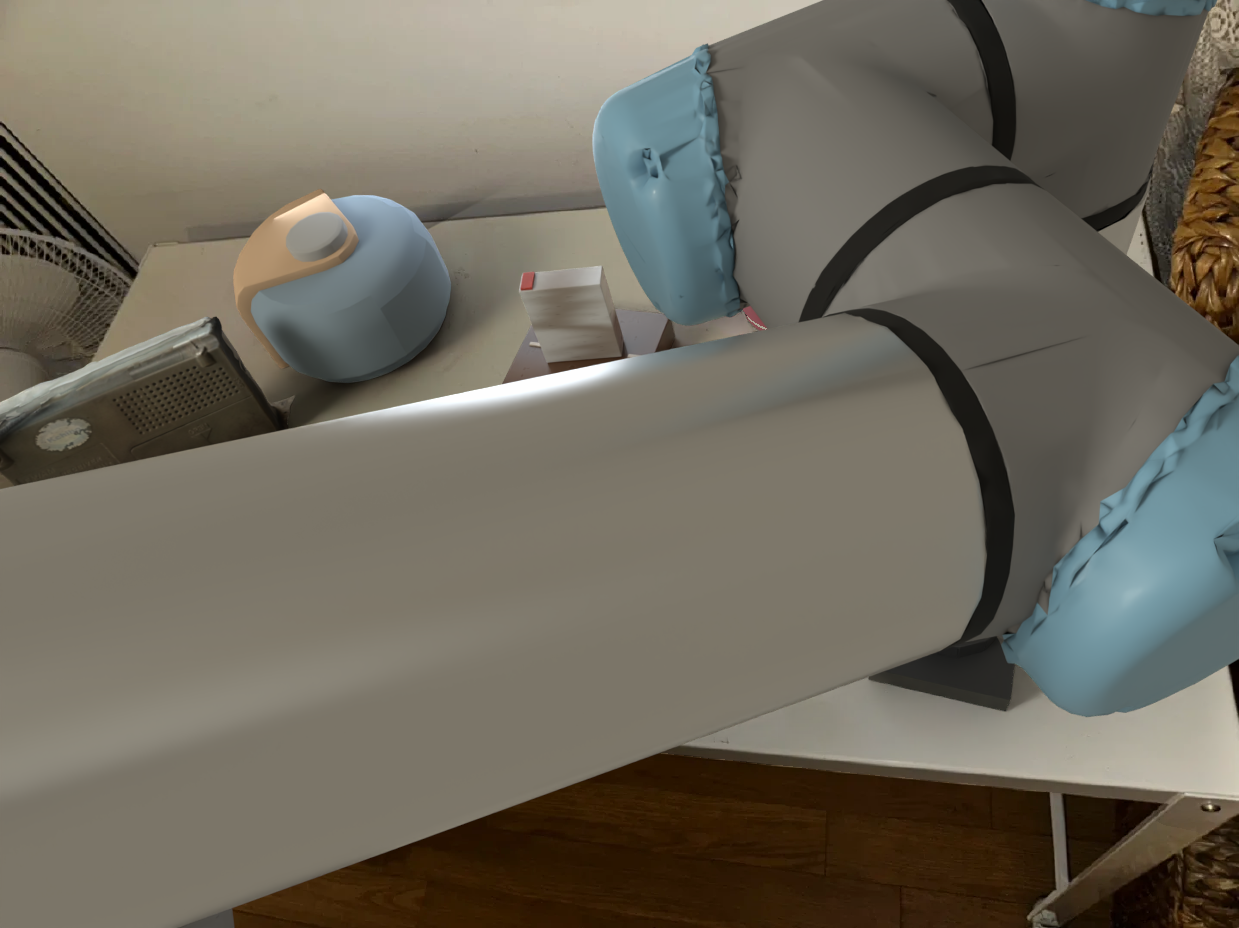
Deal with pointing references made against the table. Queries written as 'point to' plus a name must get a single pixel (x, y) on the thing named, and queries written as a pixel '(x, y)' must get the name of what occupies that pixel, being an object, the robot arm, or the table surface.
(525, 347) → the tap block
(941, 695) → the button box
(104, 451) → the radio
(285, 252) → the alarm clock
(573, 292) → the red-tipped white block
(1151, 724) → the table surface
